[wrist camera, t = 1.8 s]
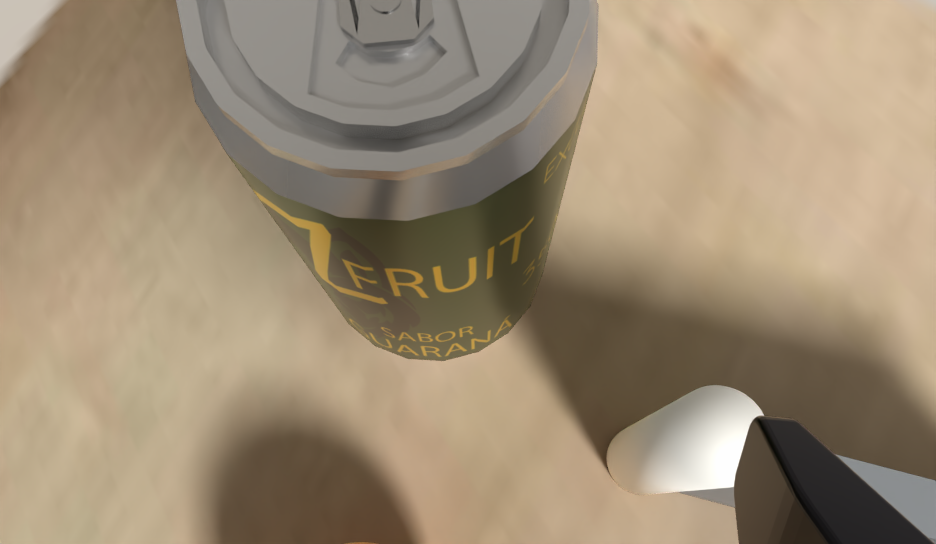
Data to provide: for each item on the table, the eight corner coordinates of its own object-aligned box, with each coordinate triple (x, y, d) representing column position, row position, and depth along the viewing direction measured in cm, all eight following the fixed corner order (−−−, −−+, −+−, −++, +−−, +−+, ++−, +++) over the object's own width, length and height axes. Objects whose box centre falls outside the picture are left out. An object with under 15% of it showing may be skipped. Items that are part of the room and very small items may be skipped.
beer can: (323, 171, 22) (155, -188, 11) (528, 152, 23) (579, -226, 11) (335, 376, 21) (155, 215, 9) (554, 355, 21) (642, 167, 10)
